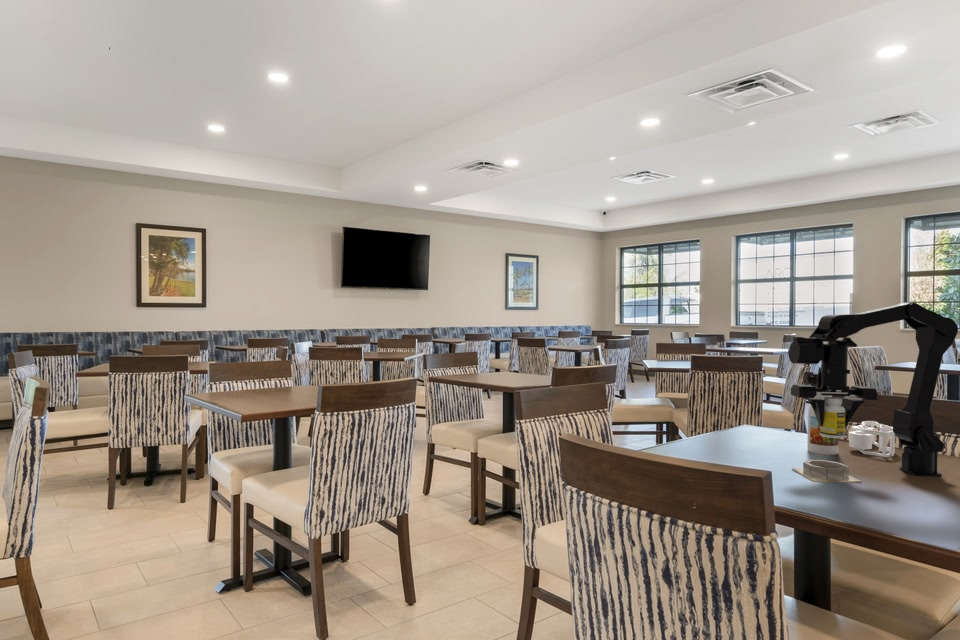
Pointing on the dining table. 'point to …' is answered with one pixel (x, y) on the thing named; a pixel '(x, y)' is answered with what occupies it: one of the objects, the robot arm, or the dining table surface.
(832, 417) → the supplement bottle
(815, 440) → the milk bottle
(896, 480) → the dining table surface
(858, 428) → the skeletal toy car
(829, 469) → the octagonal ring stand
